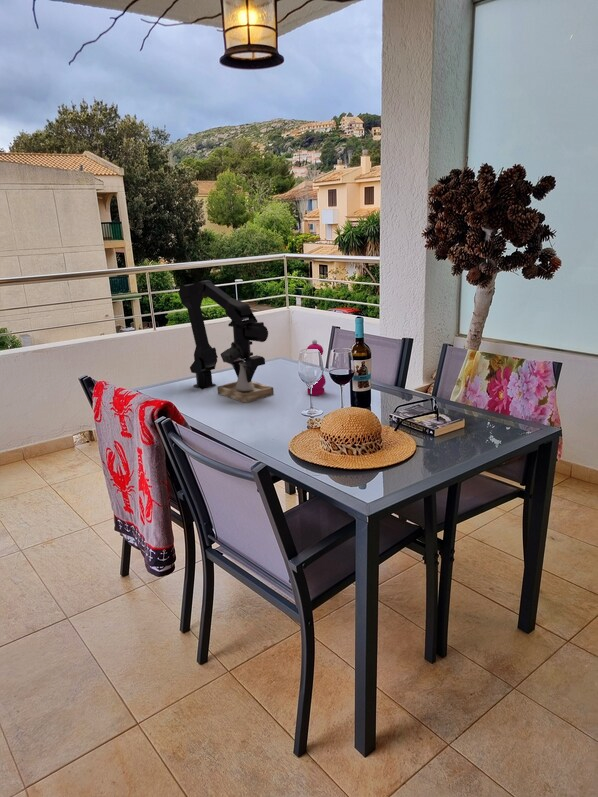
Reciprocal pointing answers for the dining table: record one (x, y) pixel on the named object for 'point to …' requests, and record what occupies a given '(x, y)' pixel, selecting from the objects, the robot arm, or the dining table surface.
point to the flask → (243, 380)
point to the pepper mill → (318, 386)
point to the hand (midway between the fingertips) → (244, 380)
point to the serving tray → (246, 392)
